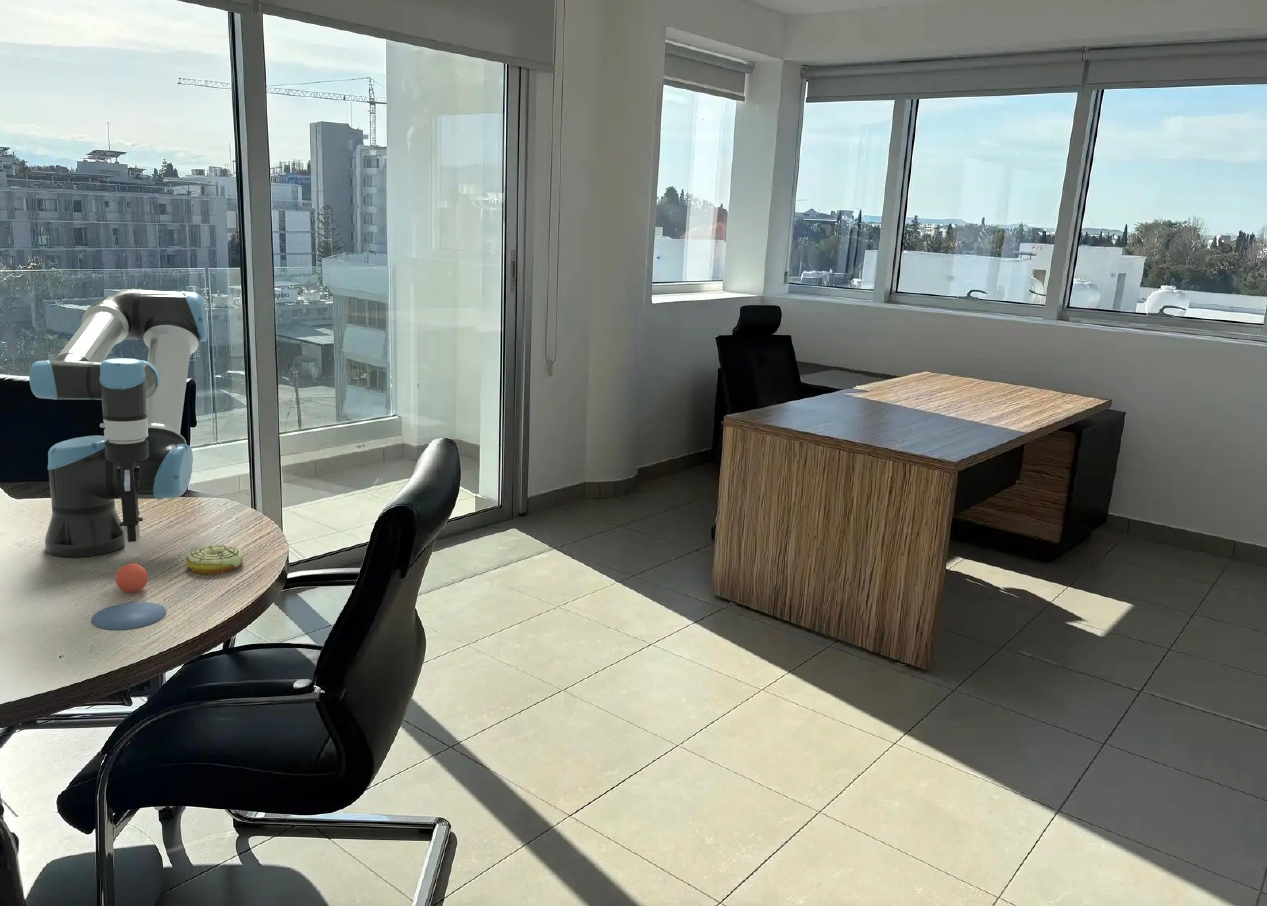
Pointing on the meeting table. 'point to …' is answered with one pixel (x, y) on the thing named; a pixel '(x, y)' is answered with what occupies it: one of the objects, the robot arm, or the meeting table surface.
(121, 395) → the robot arm
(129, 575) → the ball
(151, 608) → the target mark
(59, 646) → the meeting table surface
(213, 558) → the decorated donut
